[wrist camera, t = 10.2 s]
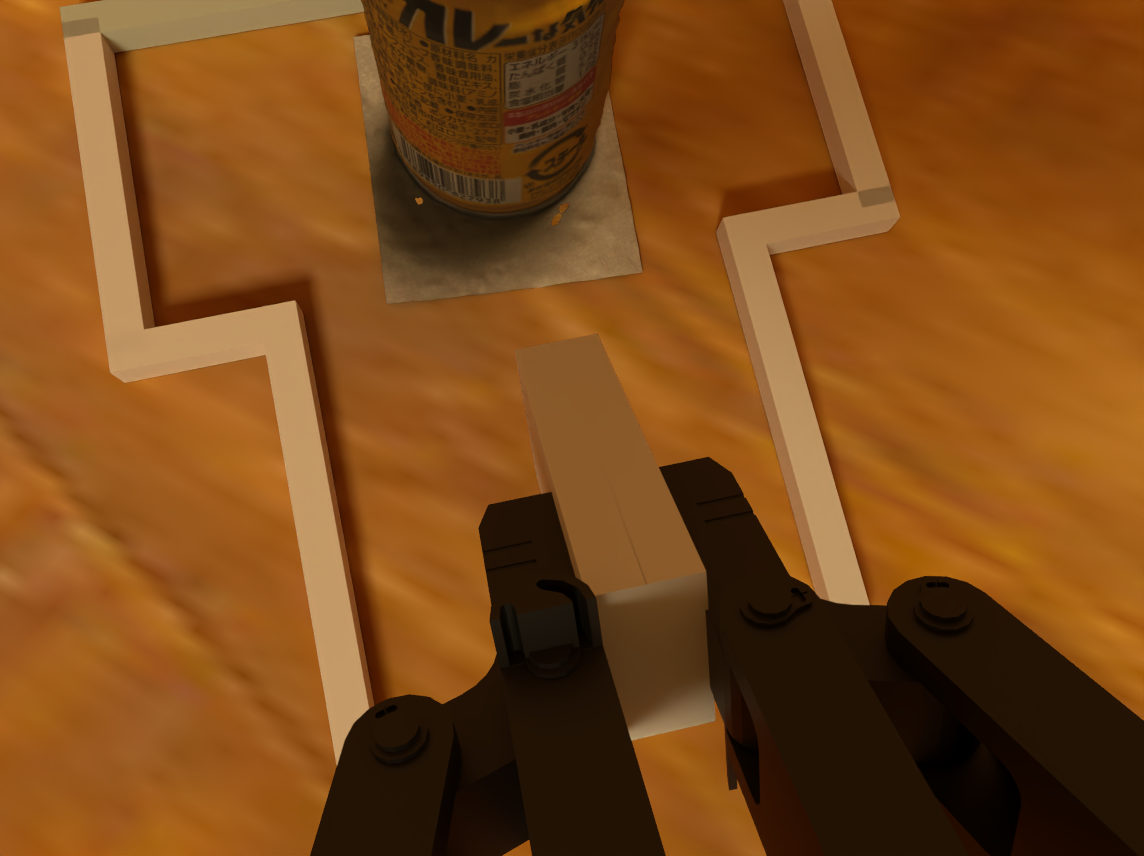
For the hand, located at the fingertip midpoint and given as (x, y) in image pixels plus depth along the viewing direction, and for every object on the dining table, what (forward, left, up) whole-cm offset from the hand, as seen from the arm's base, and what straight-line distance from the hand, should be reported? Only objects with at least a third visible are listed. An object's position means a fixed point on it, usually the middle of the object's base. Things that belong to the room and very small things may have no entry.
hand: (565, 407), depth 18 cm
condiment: (-1, -10, -9) cm, 14 cm away
